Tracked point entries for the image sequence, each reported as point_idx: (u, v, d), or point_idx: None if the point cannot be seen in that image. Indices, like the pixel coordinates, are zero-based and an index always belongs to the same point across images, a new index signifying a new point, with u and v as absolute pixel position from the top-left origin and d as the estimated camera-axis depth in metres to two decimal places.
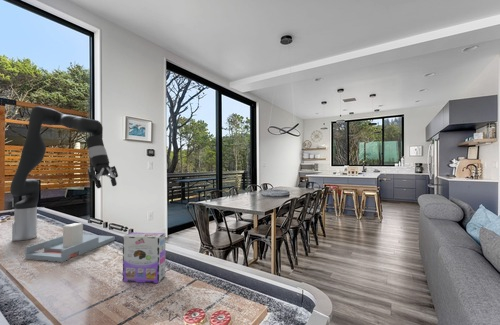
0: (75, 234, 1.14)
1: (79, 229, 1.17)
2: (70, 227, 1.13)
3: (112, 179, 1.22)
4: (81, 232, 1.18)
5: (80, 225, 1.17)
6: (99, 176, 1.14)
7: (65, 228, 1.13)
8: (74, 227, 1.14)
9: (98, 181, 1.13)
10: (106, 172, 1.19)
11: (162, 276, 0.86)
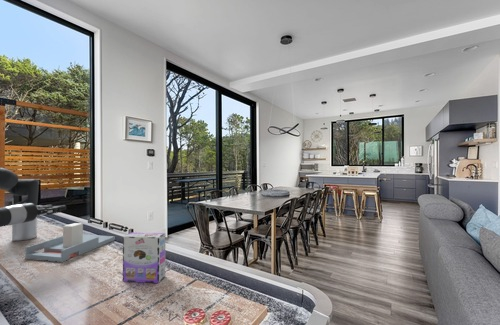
0: (75, 234, 1.14)
1: (79, 229, 1.17)
2: (70, 227, 1.13)
3: None
4: (81, 232, 1.18)
5: (80, 225, 1.17)
6: None
7: (65, 228, 1.13)
8: (74, 227, 1.14)
9: None
10: None
11: (162, 276, 0.86)
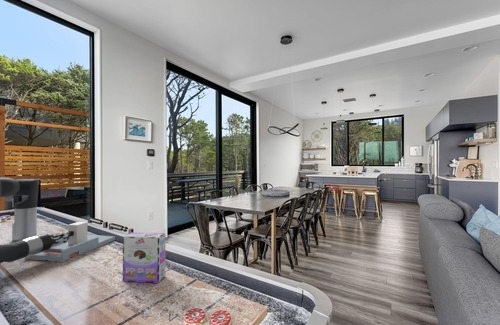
0: (80, 233, 1.17)
1: (84, 227, 1.19)
2: (75, 226, 1.15)
3: None
4: (86, 231, 1.20)
5: (85, 224, 1.20)
6: None
7: (70, 227, 1.16)
8: (79, 226, 1.17)
9: None
10: None
11: (162, 276, 0.86)
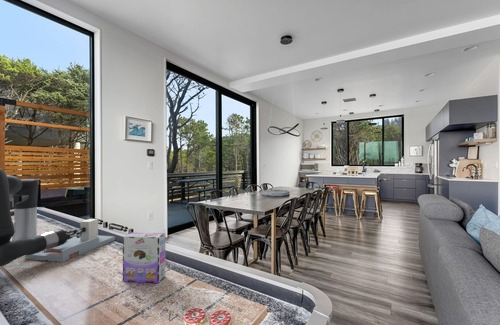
0: (91, 229, 1.24)
1: (95, 224, 1.26)
2: (87, 222, 1.22)
3: None
4: (96, 227, 1.27)
5: (96, 221, 1.26)
6: None
7: (82, 224, 1.22)
8: (90, 222, 1.23)
9: None
10: None
11: (162, 276, 0.86)
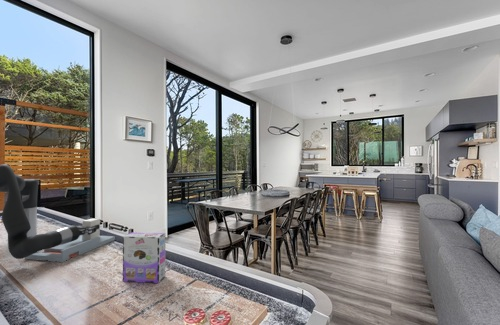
0: None
1: (97, 223, 1.27)
2: (89, 222, 1.23)
3: None
4: None
5: (97, 220, 1.28)
6: None
7: (84, 223, 1.24)
8: (92, 222, 1.24)
9: None
10: None
11: (162, 276, 0.86)
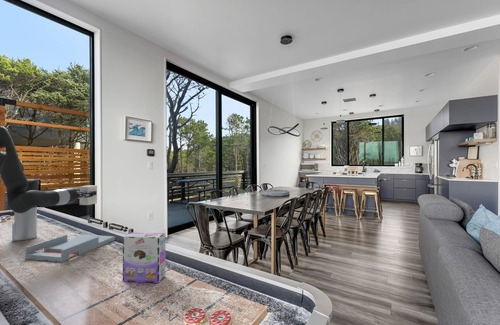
0: None
1: (94, 190, 1.31)
2: (86, 187, 1.27)
3: None
4: None
5: (94, 187, 1.31)
6: None
7: (82, 188, 1.27)
8: (89, 187, 1.28)
9: None
10: None
11: (162, 276, 0.86)
